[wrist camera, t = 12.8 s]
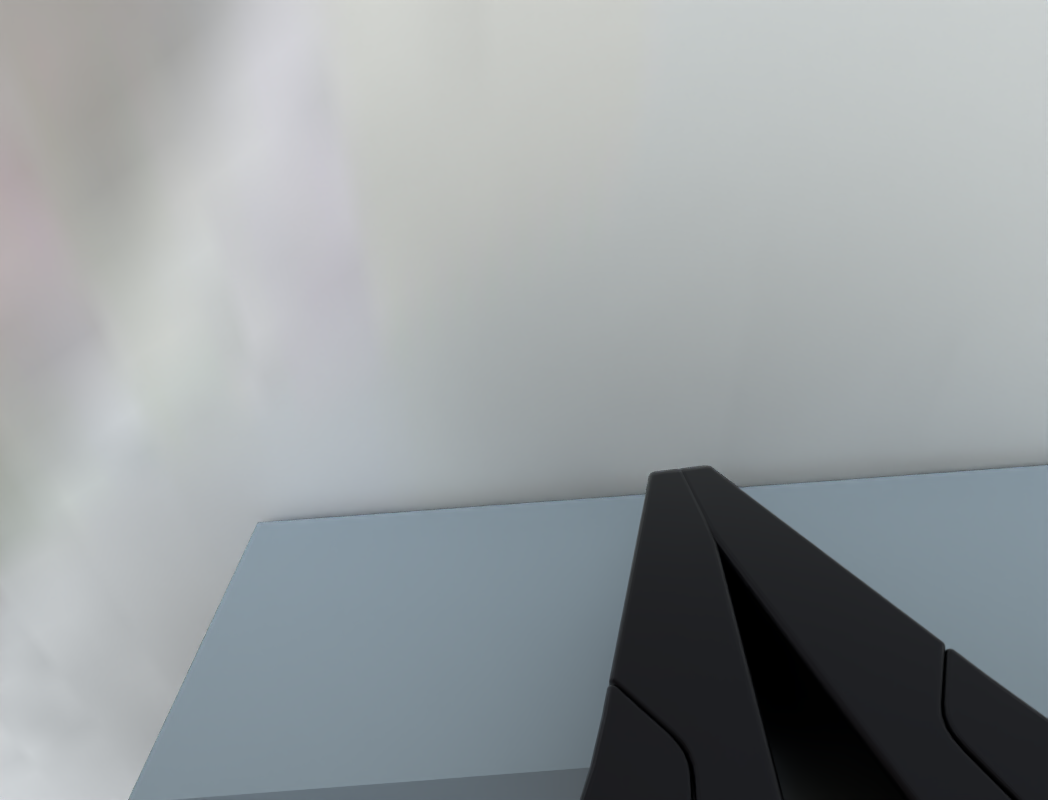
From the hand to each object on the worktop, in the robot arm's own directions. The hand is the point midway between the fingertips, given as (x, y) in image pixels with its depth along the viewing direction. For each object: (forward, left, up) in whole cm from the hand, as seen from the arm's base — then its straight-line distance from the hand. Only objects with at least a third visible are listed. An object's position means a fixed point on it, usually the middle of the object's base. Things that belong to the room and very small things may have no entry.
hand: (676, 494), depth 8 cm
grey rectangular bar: (0, -3, -2) cm, 3 cm away
